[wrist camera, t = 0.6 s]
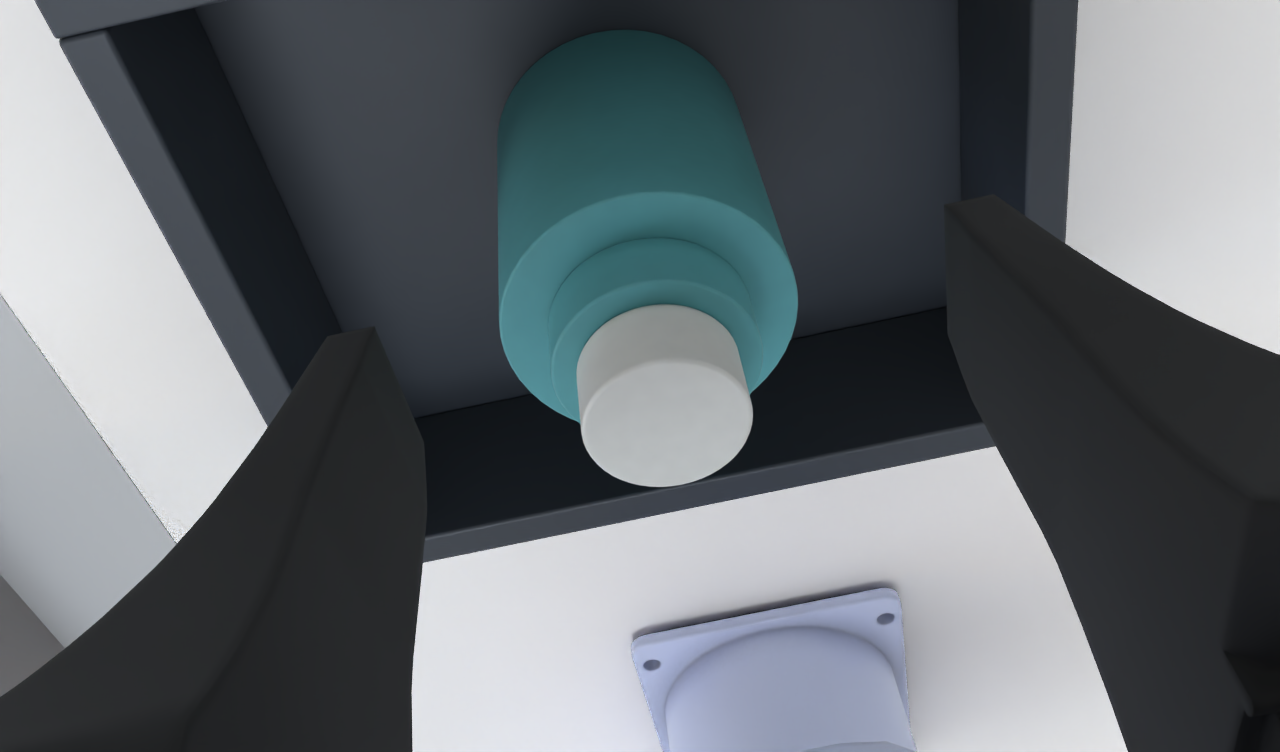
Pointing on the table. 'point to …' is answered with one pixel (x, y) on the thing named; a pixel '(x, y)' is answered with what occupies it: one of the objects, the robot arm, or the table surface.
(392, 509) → the robot arm
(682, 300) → the bottle
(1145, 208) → the table surface
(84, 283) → the table surface
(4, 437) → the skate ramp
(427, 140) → the bin
